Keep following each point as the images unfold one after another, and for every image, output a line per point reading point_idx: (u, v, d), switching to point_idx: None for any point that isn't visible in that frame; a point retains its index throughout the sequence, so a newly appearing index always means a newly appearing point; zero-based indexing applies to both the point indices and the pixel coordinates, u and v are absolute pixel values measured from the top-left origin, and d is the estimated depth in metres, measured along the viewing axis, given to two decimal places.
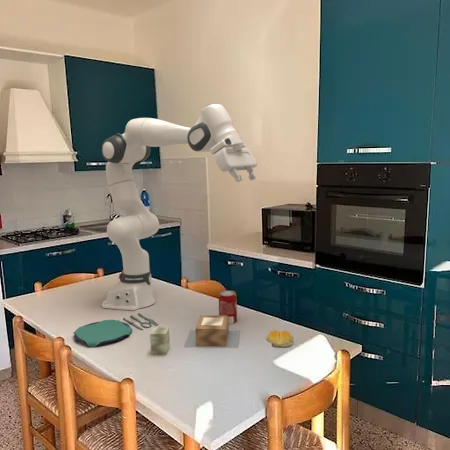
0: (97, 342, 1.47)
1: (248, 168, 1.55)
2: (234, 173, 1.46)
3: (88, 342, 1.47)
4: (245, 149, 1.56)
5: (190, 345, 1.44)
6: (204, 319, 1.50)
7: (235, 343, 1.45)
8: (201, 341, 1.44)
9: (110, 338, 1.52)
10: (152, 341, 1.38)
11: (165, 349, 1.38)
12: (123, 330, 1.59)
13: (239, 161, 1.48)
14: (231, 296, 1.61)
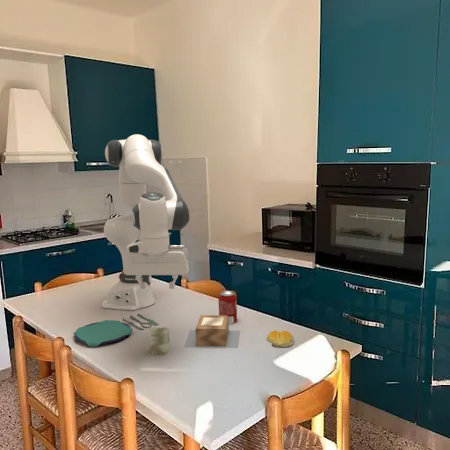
0: (98, 342, 1.47)
1: None
2: None
3: (89, 342, 1.47)
4: (173, 255, 1.33)
5: (190, 345, 1.44)
6: (204, 319, 1.50)
7: (235, 343, 1.45)
8: (201, 341, 1.44)
9: (110, 338, 1.52)
10: (152, 341, 1.38)
11: (165, 349, 1.38)
12: (123, 330, 1.58)
13: (147, 270, 1.35)
14: (231, 296, 1.61)
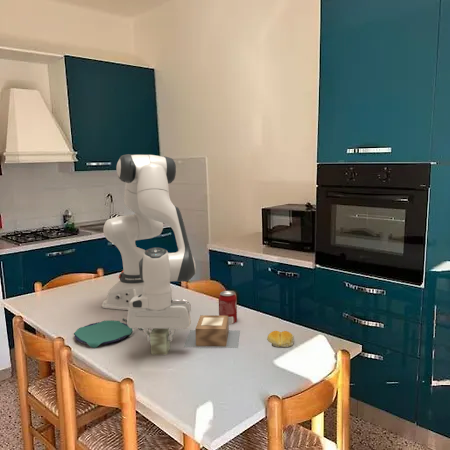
0: (98, 343, 1.47)
1: None
2: None
3: (89, 343, 1.47)
4: (175, 309, 1.36)
5: (190, 345, 1.44)
6: (204, 319, 1.50)
7: (235, 343, 1.45)
8: (201, 341, 1.44)
9: (111, 339, 1.51)
10: (152, 341, 1.38)
11: (165, 349, 1.38)
12: (123, 330, 1.58)
13: (150, 323, 1.38)
14: (231, 296, 1.61)
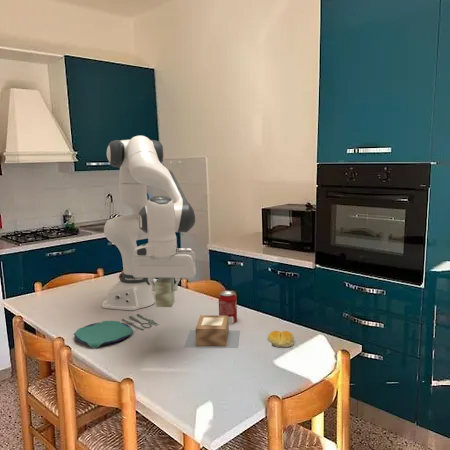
0: (99, 343, 1.46)
1: None
2: None
3: (90, 343, 1.46)
4: (180, 258, 1.35)
5: (190, 345, 1.44)
6: (204, 319, 1.50)
7: (235, 343, 1.45)
8: (201, 341, 1.44)
9: (111, 339, 1.51)
10: (157, 290, 1.36)
11: (170, 298, 1.36)
12: (124, 331, 1.58)
13: (155, 272, 1.36)
14: (231, 296, 1.61)
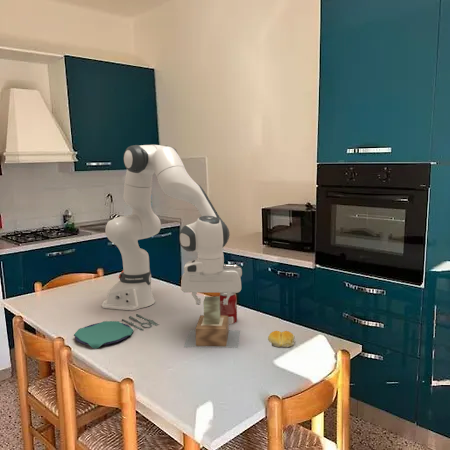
0: (100, 343, 1.46)
1: None
2: None
3: (90, 344, 1.46)
4: (228, 274, 1.43)
5: (190, 345, 1.44)
6: None
7: (235, 343, 1.45)
8: (201, 341, 1.44)
9: (112, 339, 1.51)
10: (205, 308, 1.45)
11: (217, 316, 1.45)
12: (124, 331, 1.58)
13: (203, 287, 1.45)
14: (231, 296, 1.61)
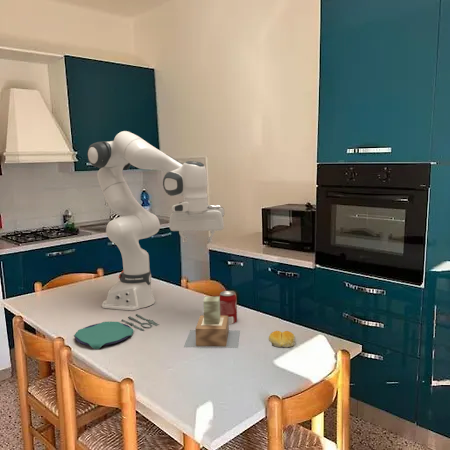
0: (101, 344, 1.46)
1: None
2: None
3: (91, 344, 1.46)
4: (211, 213, 1.59)
5: (190, 345, 1.44)
6: None
7: (235, 343, 1.45)
8: (201, 341, 1.44)
9: (113, 339, 1.51)
10: (205, 308, 1.45)
11: (217, 316, 1.45)
12: (124, 331, 1.58)
13: (189, 226, 1.60)
14: (231, 296, 1.61)
